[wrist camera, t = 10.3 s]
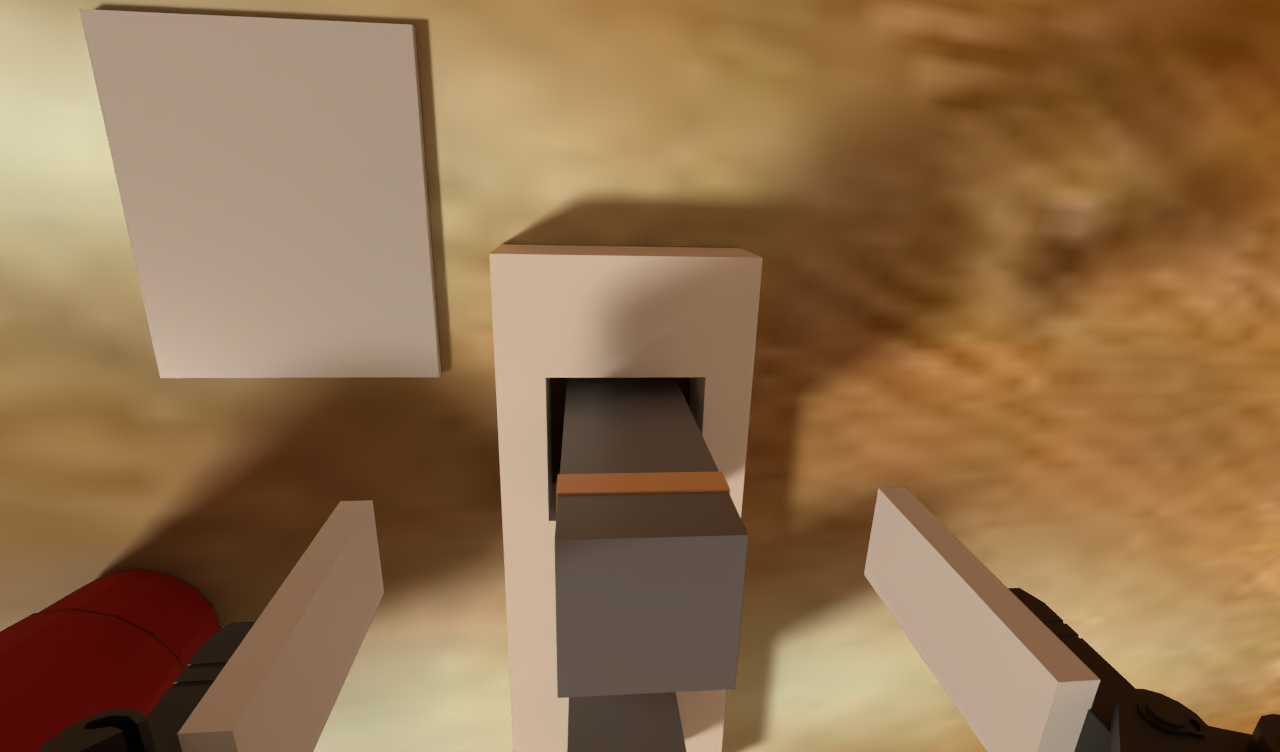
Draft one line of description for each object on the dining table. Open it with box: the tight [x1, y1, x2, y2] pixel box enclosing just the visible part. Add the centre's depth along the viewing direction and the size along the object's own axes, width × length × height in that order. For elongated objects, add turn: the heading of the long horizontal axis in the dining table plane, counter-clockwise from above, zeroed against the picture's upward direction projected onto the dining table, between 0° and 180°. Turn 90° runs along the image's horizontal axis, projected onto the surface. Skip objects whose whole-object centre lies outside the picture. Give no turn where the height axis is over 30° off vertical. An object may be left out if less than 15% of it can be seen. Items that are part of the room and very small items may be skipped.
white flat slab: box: [80, 9, 441, 378], centre depth 22 cm, size 12×10×1 cm
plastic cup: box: [0, 569, 221, 752], centre depth 21 cm, size 11×11×12 cm
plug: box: [555, 377, 748, 698], centre depth 20 cm, size 4×4×12 cm
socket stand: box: [490, 244, 763, 752], centre depth 20 cm, size 26×9×15 cm, turn 179°
